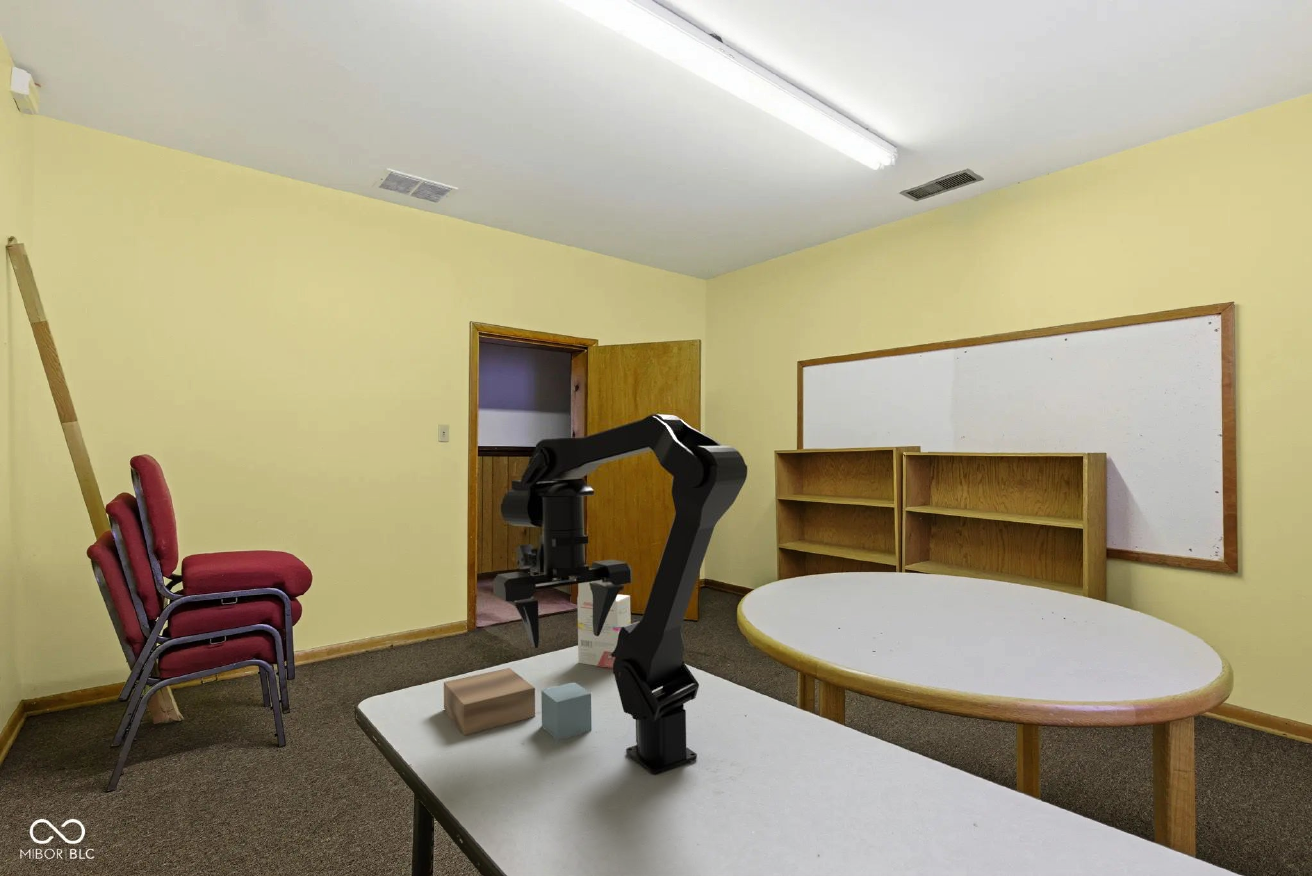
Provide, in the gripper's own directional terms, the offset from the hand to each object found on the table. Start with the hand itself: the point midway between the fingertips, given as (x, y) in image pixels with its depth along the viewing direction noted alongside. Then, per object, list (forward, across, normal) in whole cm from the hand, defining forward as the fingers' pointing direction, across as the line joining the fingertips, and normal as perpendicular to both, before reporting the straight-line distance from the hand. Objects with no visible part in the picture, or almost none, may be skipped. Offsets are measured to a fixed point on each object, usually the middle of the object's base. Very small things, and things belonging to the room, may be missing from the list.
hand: (566, 641), depth 87 cm
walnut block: (+11, +8, -9) cm, 16 cm away
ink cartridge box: (+11, -15, -19) cm, 27 cm away
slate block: (+11, +1, +2) cm, 11 cm away
